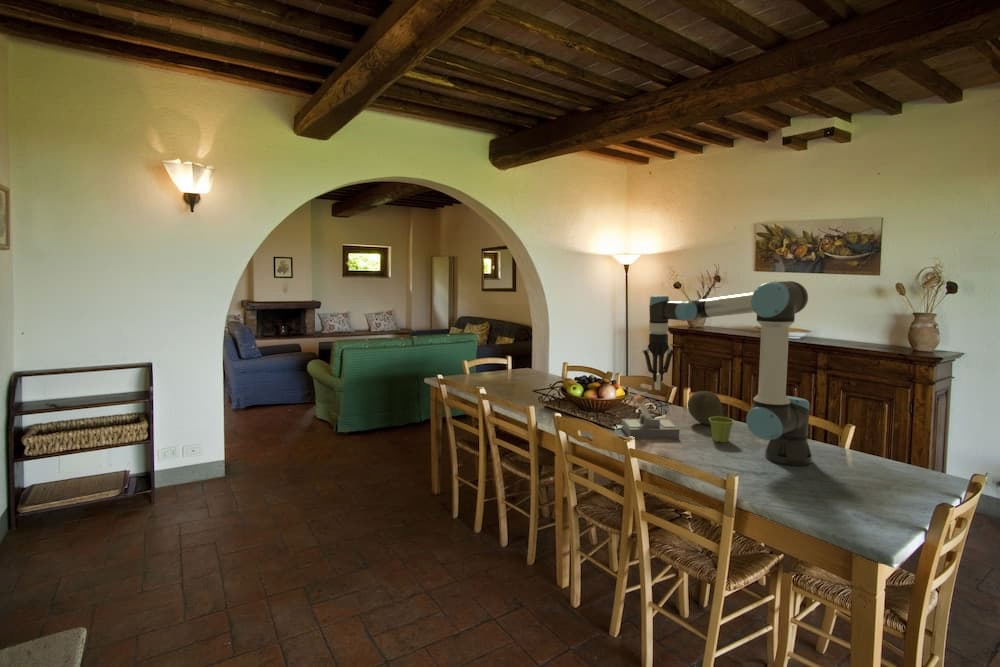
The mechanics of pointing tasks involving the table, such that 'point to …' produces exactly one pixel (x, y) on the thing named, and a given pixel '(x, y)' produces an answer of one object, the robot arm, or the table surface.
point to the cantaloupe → (704, 406)
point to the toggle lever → (642, 406)
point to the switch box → (650, 428)
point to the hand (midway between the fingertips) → (657, 389)
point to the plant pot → (721, 428)
